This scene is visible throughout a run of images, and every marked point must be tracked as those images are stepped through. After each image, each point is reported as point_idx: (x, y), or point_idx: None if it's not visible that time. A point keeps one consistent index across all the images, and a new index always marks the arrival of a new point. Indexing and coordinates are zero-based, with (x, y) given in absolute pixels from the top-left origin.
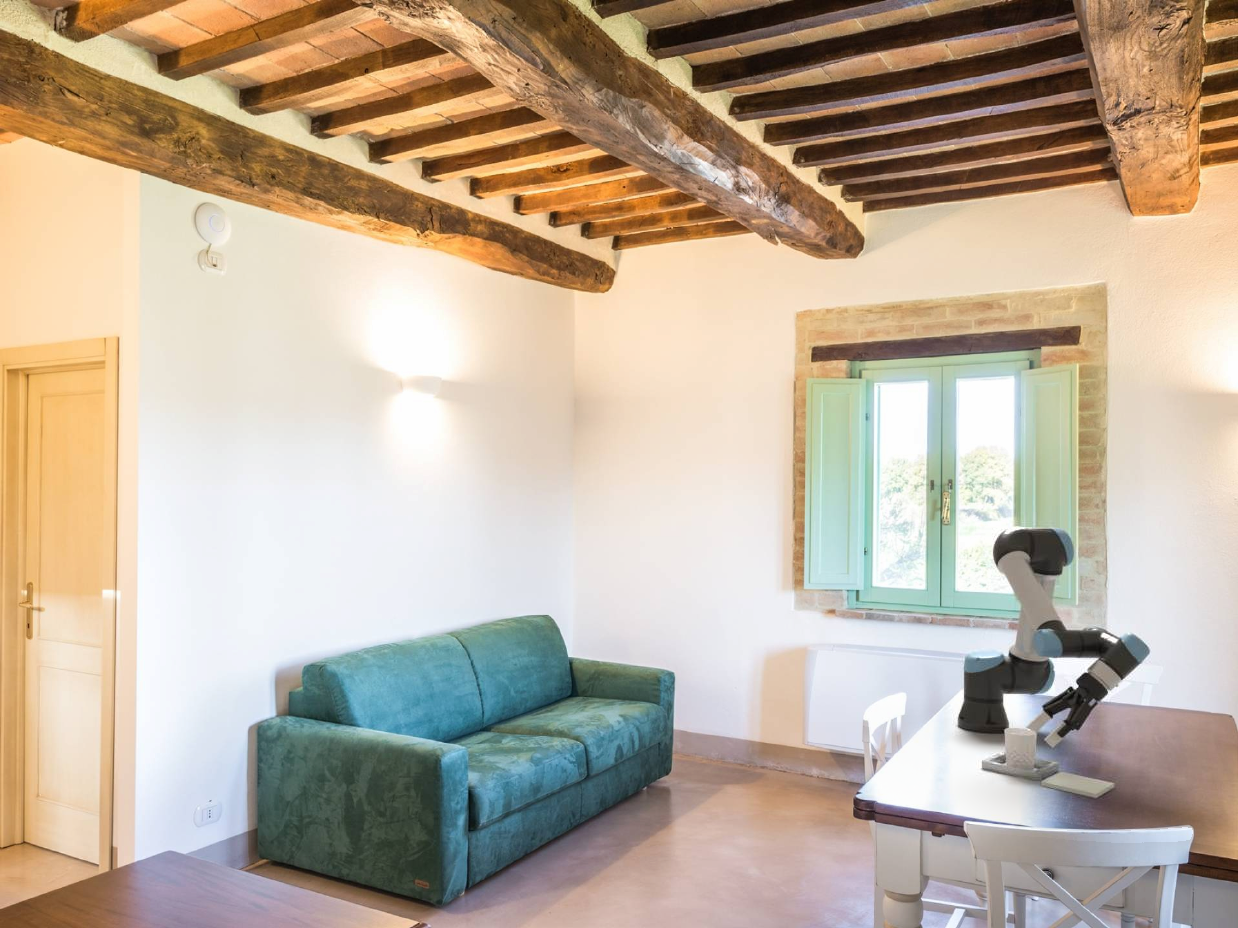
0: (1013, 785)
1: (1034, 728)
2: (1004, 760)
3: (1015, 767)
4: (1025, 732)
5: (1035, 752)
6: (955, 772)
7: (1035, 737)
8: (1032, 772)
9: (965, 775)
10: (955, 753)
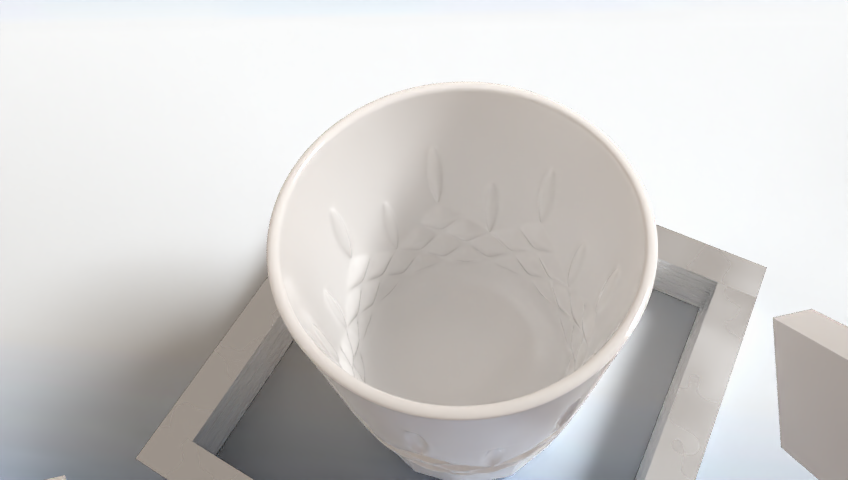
0: (28, 299)
1: (829, 433)
2: (654, 285)
3: (263, 308)
4: (622, 311)
5: (449, 463)
6: (251, 39)
7: (364, 405)
8: (164, 425)
9: (203, 77)
10: (686, 34)
